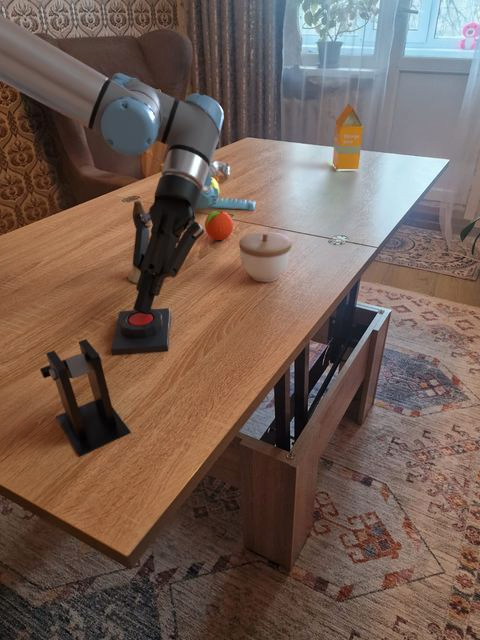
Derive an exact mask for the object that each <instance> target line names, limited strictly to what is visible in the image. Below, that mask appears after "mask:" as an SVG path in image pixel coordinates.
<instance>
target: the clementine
mask: <svg viewBox="0 0 480 640" xmlns="http://www.w3.org/2000/svg"><path fill="white" fill-rule="evenodd" d="M204 230H205V231H206V234H207V235H208V236H209V237H210V238H211V239H214V240H216V241H223V240H226V239H227V238H229V237H230V236H231V235H232V233H233V230H234V222H233V219H232V217H231V216H230V214H228V213H227V212H226V211H224V210H214V211H212V212H211V213H209V214H208V215H207V216H206V219H205V222H204Z"/></svg>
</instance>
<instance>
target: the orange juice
mask: <svg viewBox="0 0 480 640" xmlns="http://www.w3.org/2000/svg"><path fill="white" fill-rule="evenodd" d="M334 127H335V128H334V139H333V153H332V164H334V166H335V167H336V169H337V170H338V169H358V170H359V167H360V157H361V150H362V140H363V130H364V126H363V124H362V123H361V121H360V118H359V117H358V115H357V113H356V111H355V109H354V107H353V106H351V105H350V104H347V105H346V106H345V108H344V109H343V110H342V112H341V114H340V115H339V116H338V117H337V119H336V120H335V126H334Z"/></svg>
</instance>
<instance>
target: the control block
mask: <svg viewBox="0 0 480 640" xmlns="http://www.w3.org/2000/svg"><path fill="white" fill-rule="evenodd" d="M137 313H140V312H138V311H136V310H134V309H131V310H120V311H119V312H118V316H117V321H116V324H115V325H116V326H115V330H114V334H113V339H112V343H111V348H110V351H111V356H122V355H124V356H125V355H137V354H139V355H140V354H150V353H152V354H153V353H164V352H169V349H170V348H169V347H170V331H171V330H170V329H171V327H172V313H171V308H170V307H167V308H166V307H165V308H151V310H150V313H149V314H151V315H152V317H153V321H152V322H150V323H148V324H146V325H140V326H134V325H130V324H129V318H130V317H131V316H132V315H134V314H137Z"/></svg>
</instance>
